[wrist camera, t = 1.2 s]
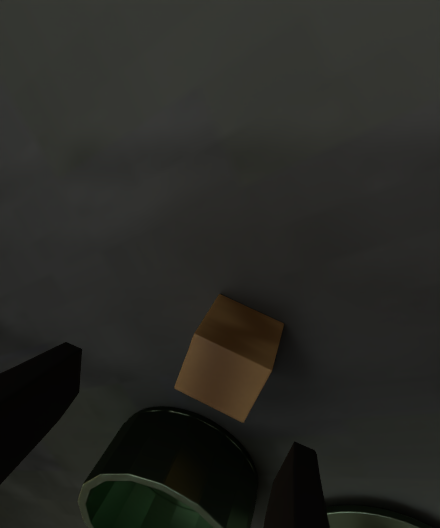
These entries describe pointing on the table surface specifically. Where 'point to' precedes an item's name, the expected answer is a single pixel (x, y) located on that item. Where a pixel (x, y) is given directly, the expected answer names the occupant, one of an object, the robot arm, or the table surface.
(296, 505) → the robot arm
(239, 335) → the block
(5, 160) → the table surface
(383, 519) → the lid
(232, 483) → the bowl
